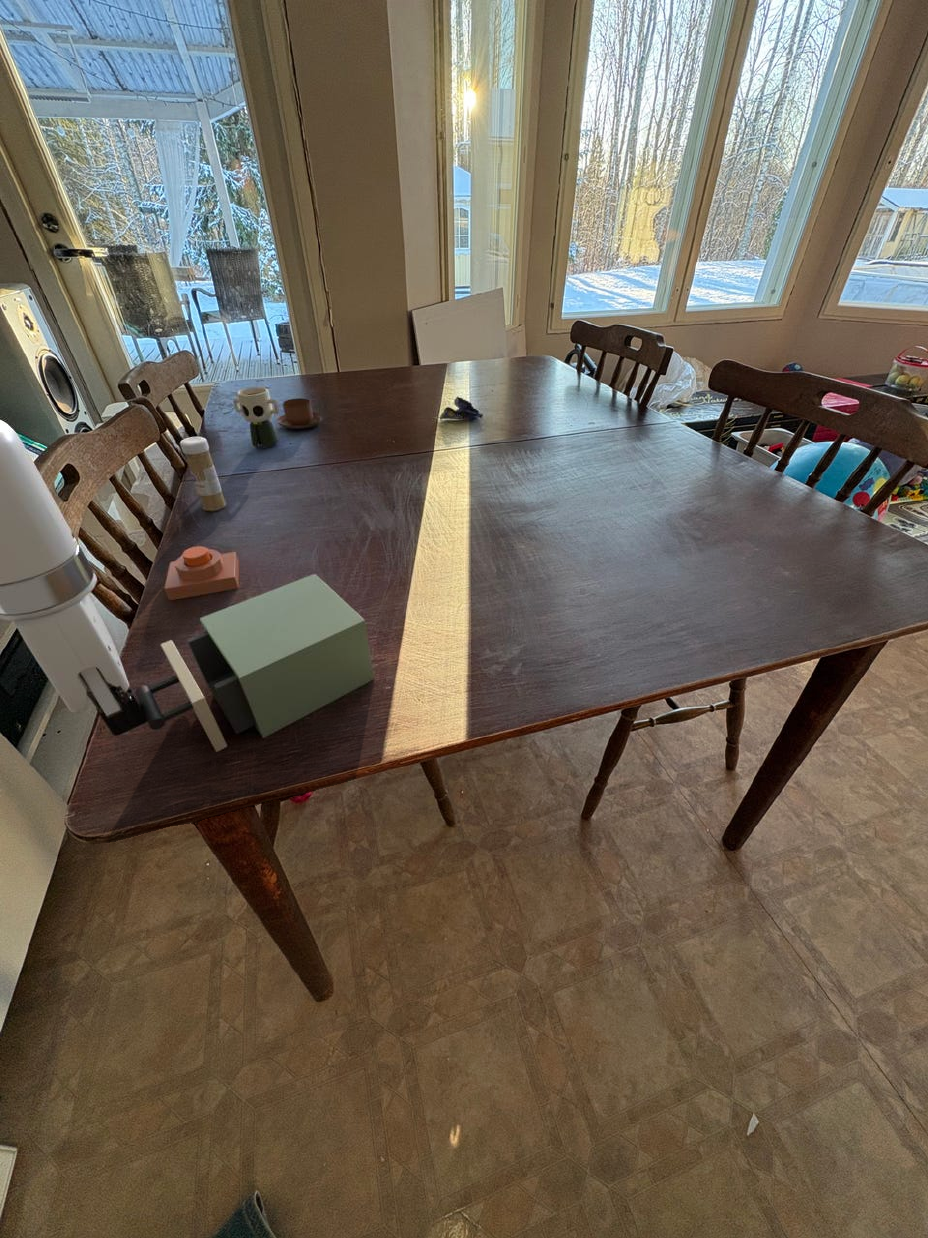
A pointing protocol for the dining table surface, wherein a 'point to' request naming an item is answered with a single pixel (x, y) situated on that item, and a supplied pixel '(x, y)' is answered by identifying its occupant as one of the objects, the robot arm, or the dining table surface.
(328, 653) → the fryer
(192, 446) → the sprinkles bottle
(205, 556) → the button
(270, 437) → the character mug
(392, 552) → the dining table surface
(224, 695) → the fryer drawer
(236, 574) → the control block
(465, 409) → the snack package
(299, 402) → the cup and saucer
